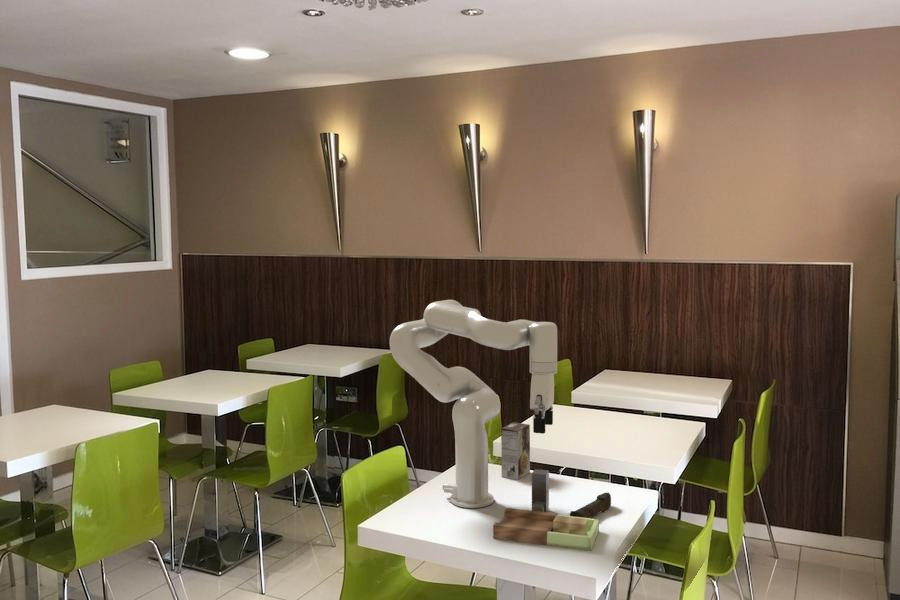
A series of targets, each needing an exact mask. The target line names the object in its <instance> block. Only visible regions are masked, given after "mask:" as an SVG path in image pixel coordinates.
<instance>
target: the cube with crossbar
mask: <svg viewBox="0 0 900 600" xmlns="http://www.w3.org/2000/svg"><path fill="white" fill-rule="evenodd" d="M549 501H550V471H549V470H548V469H537V468H536V469H534V470H533V471H532V473H531V511H539V512H548V513H550V509H549V507H550V502H549Z"/></svg>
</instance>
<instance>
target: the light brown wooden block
mask: <svg viewBox="0 0 900 600" xmlns="http://www.w3.org/2000/svg"><path fill="white" fill-rule="evenodd" d="M569 534H575V535H583V536H587V519H582V518H574V517H572V518H571V520H570V522H569Z"/></svg>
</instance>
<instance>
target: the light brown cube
mask: <svg viewBox="0 0 900 600" xmlns="http://www.w3.org/2000/svg"><path fill="white" fill-rule="evenodd" d="M565 516H566V515H565ZM565 516H556V517H555V519H554V521H553V532H559V533H567V534H569V522H570V520H571V518H572V517H565Z"/></svg>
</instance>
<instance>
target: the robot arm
mask: <svg viewBox="0 0 900 600" xmlns="http://www.w3.org/2000/svg"><path fill="white" fill-rule="evenodd" d="M449 334H452V335H455V336H460V337H462V338H463V337H464V338H467V339H471V340H472V341H473V342H475V343H478V344H480V345H483V346H486V347H489V348H490V347H491V348H493V349H499V350H503V351H511V350H512V351H513V350H516V349H518V348H522V347H523V348H524V347H526V346H529V373H530V374H531V381H530V397H529V408H530V410H531V411H533V418H532V421H533V428H532V429H533V433H534V434H543V435H544V434H545V433H546V426H547V425H548V426H552V425H553V423H554V421H553V420H554V410H553V408H554V407H553V405H554V402H555V376H554V375H555V374H558V326H557V325H556V323H555V322H551V321H533V320H528V319H517V320H512V321H508V322H505V321H499V320H495V319H490V318H486V317H485V316H484V317H483V316H482V314H481V312H480V310H478V309H477V308H473V307H467V306H463V305H462V304H461V303H460V302H459V301H458V300H454V299H446V300H445V299H444V300H438V301H433V302H430V303H429V304H428V305H427V306H426V307H425V309H424V312H423V318H422V319H419V320H411V321H407V322H403V323H401V324H399V325H397V326H396V327H395V328H393V330H392V332H391V334H390V336H389V349H390V352H391V353H390V354H391V355H392V358H393V359H394V361H395V362H396V363H397V364H398V365H399V366H400V368H401V369H403V370H404V371H405V372H406V373H408V374H409V375H410V376H411V377H412V378H413V379H415V381H416V382H418V383H419V384H420V385H421V386H422V387H423V388H424V389H425V390H426V391H427V392H428V393H429V394H431V396H433V398H435V399H436V400H438V401H439V402H441V403H446V404H447V403H450V402H454V401H455V400H456V402H454V405H453V406H452V412H451V417H452V423H453V430H454V439H455V441H454V442H455V443H454V444H455V446H454V447H455V483H453V484H450V483H443V484H442V490H443V492H444V493H447V494H448V493H450V494H451V495H450V503H451V504H453V505H455V506H457V507H460V508H467V509H478V508H479V509H480V508H484V507H488V506H490V505H492V504H493V502H494V495H493V494H491V493H490V492H489V443H488V442H489V441H488V439H489V438H488V434H487V431H486V424H485V423H487V422H490V421H491V420H493V419H495V418H496V417H497V416H498V415H499V413H500V412H501V407H502V406H501V401H500V398H499V396H498V395H497V393H496V391H494V390H493V389H492V388H491V387H489V385H487V384H486V383H485V382H484V381H483V380H481V378H479V377H478V376H477V375H476V374H475V373H473V372H472V370H469V369H468V368H466V367H463V366H451V367H449V368H448V367H445V366H444V365H443V364H441V363H440V362H439V361H438V360H437V359H436V358H435V357H434V356H432V355H431V354H429V353H427V352H425V351H424V350H422V349H423V348H427V347H430V346H431V345H434V344H435V343H437V342H438V341H441V339H443V338H445V337H446V336H447V335H449Z"/></svg>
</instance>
